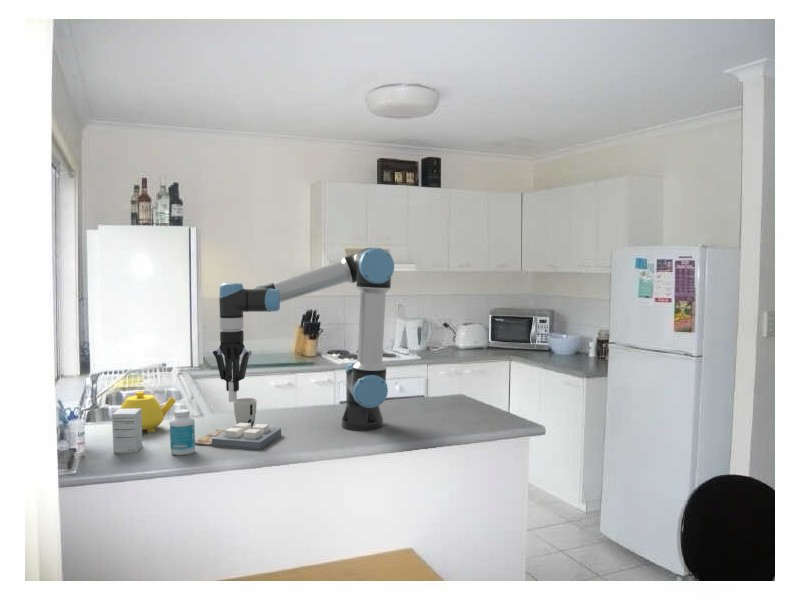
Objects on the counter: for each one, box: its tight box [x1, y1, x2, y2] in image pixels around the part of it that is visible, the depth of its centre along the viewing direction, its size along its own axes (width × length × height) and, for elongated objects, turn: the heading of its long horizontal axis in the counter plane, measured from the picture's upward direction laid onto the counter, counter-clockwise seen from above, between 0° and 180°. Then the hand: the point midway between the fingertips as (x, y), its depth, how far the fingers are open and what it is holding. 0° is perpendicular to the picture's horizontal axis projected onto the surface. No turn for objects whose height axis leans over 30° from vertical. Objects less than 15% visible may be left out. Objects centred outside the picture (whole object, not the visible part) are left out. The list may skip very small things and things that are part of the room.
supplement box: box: [111, 408, 143, 454], centre depth 223 cm, size 7×7×13 cm
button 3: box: [243, 429, 261, 439], centre depth 229 cm, size 4×4×3 cm
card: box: [195, 429, 227, 447], centre depth 236 cm, size 6×17×1 cm, turn 167°
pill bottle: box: [169, 408, 196, 456], centre depth 219 cm, size 8×7×14 cm
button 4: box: [252, 423, 270, 434], centre depth 235 cm, size 4×4×3 cm
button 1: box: [225, 427, 242, 438], centre depth 231 cm, size 4×4×3 cm
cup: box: [233, 397, 257, 427], centre depth 249 cm, size 8×8×10 cm
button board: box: [211, 426, 282, 451], centre depth 233 cm, size 17×17×2 cm
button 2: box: [233, 423, 251, 433], centre depth 237 cm, size 4×4×3 cm
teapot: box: [119, 390, 177, 433], centre depth 247 cm, size 20×16×14 cm
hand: (232, 400), depth 230 cm, fingers closed
